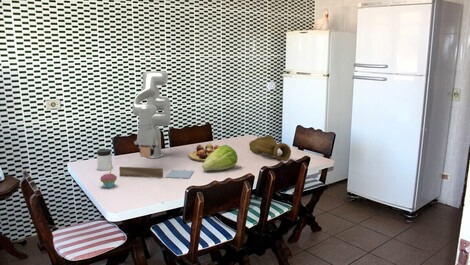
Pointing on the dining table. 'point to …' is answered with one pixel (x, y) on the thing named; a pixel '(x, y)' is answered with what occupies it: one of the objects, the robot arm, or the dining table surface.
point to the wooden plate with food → (202, 152)
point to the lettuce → (221, 159)
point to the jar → (104, 159)
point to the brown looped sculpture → (270, 147)
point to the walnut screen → (141, 172)
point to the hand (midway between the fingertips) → (146, 154)
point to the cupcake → (108, 179)
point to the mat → (180, 174)
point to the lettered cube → (145, 151)
